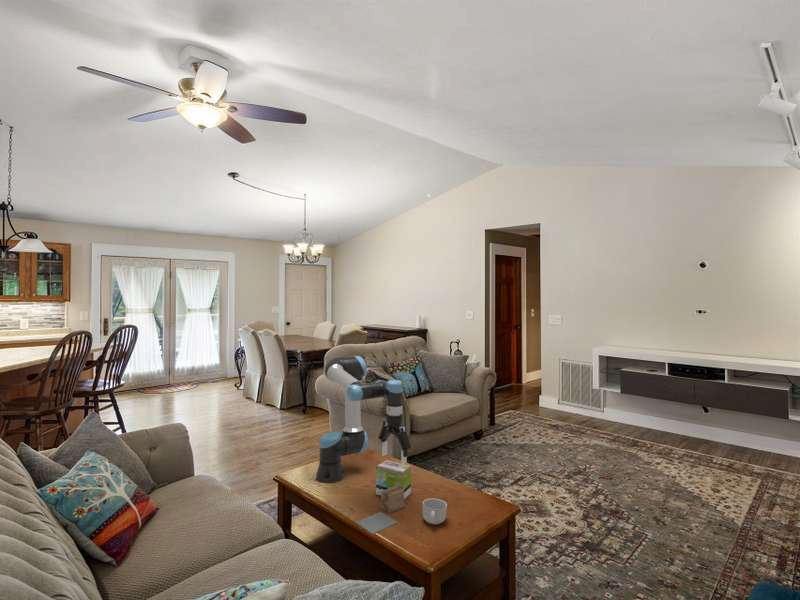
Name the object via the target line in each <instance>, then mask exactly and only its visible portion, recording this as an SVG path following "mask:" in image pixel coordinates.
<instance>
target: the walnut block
mask: <svg viewBox="0 0 800 600" xmlns="http://www.w3.org/2000/svg"><path fill="white" fill-rule="evenodd" d="M404 507H405V499H404V490H403V489H401V488H399V487H397V486H394V487H391V488H388V489H386V490H383V491H381V495H380V508H381V509H382V510H383V511H385V512H386V513H388V514H391V513H393V512H396V511H398V510H400V509H402V508H404Z"/></svg>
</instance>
